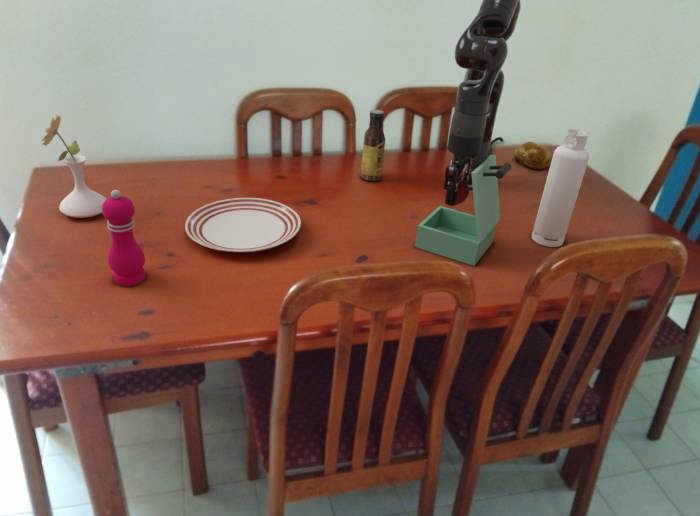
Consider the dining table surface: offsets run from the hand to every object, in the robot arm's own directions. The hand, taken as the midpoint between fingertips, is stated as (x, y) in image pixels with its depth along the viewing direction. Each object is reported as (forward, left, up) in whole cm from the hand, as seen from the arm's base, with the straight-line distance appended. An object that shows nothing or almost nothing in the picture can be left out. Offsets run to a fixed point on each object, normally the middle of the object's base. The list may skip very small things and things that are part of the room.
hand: (454, 199), depth 143 cm
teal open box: (0, +2, -12) cm, 12 cm away
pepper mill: (+56, -50, -12) cm, 76 cm away
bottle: (-17, +21, -12) cm, 30 cm away
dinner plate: (+26, -43, -12) cm, 51 cm away
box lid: (0, +7, +3) cm, 7 cm away
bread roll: (-68, +3, -12) cm, 69 cm away
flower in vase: (+41, -81, -12) cm, 91 cm away
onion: (0, 0, -2) cm, 2 cm away
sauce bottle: (-24, -34, -12) cm, 44 cm away
